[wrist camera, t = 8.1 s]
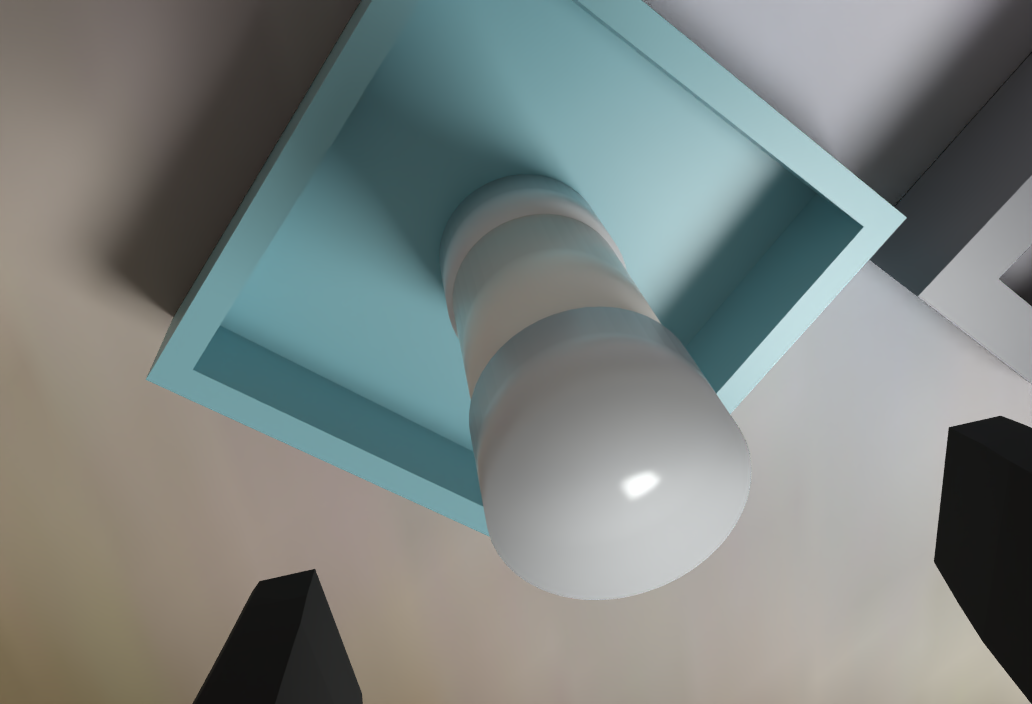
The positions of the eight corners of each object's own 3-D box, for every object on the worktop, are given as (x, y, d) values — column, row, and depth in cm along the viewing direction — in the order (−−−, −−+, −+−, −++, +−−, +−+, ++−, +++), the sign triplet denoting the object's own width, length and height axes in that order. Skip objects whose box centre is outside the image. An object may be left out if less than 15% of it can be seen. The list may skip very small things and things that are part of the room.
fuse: (501, 140, 17) (598, 331, 10) (635, 230, 18) (805, 456, 11) (406, 279, 18) (431, 541, 11) (539, 354, 19) (637, 631, 12)
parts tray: (447, -145, 15) (460, -149, 12) (843, 177, 19) (906, 217, 16) (173, 317, 18) (146, 379, 16) (560, 508, 22) (582, 579, 20)
